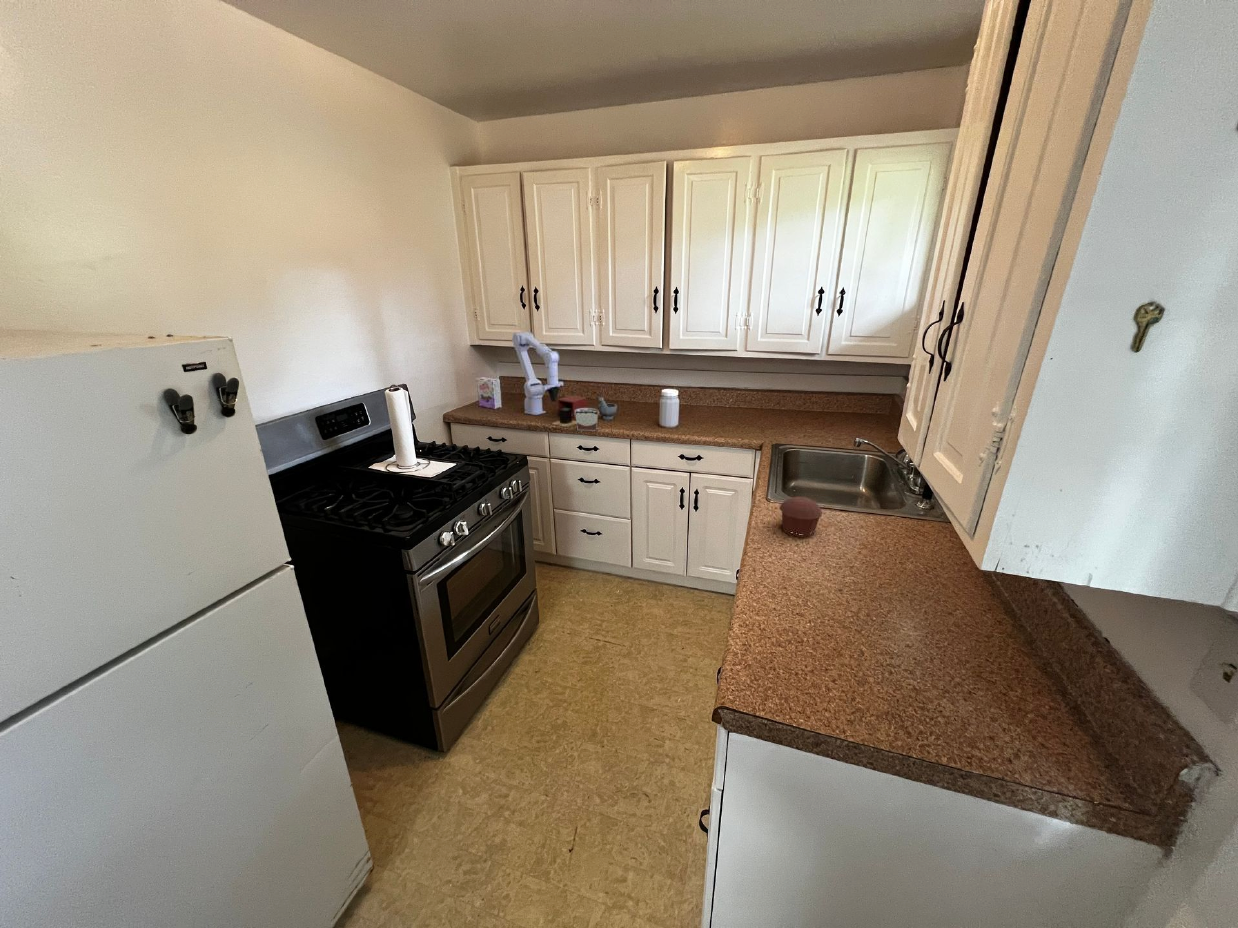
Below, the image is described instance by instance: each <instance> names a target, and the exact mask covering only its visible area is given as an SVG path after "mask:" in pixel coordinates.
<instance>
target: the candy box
mask: <svg viewBox="0 0 1238 928" xmlns="http://www.w3.org/2000/svg"><path fill="white" fill-rule="evenodd" d="M475 379H476V380H475V381H476V389H477V399H478V406H479V407H483V408H487V409H493V410H497V409H501V408H503V405H502V394H501V393H502V391H501V380H500V379H498V378H491V377H487V376H486V377H485V376H481V377H476V378H475Z"/></svg>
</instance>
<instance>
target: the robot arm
mask: <svg viewBox="0 0 1238 928" xmlns="http://www.w3.org/2000/svg"><path fill="white" fill-rule="evenodd" d="M511 341H512V344H513V347H514V350H515V351H516V354H517V357H518V360H519V363H520V366H521V369H522V373H523V375H524V377H525V380H526V381H525V383H524V384H523V388H524V394H525V398H524V412H523V413H524V414H529V415H533V416H538V415H542V414H546V412H547V411H545V410H543V397H544V395H545V393H546V392H545V391H547V394H548V395H549V397H550V401H551V402H552V403H554V402H557V400H558V394H559V392H560V390H561V387H564V381H559V370H558V367H559V365H558V363H559V362H560V359H561V358H560V353H559V352H558V351H557V350H554V351H553V350H552V349H551V348H549V346H547V345H546V343H540V342H539V341H538V340H537V339H536V338H535V336H534V334H533V333H532V332H531V331H524V332H514V333H513V334H512V338H511ZM531 347H532V348H533V349H534V350H535V351H536V354H537V355H539V356H540V357H541V358H542V359H543V362H544V365H545V368H546V384H544V385H543V384H542V381H541V380H539V379H537V377H536V374H535V371H534V368H533V366H532V363H531V359H530V357H529V354H528V350H529V349H530V348H531Z"/></svg>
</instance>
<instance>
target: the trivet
mask: <svg viewBox="0 0 1238 928" xmlns="http://www.w3.org/2000/svg"><path fill="white" fill-rule="evenodd" d="M551 425H554V426H558V427H559V426H560V427H564V428H570V427H572V426H575V425H577V422H576V420H574V419H572V422H571V423H568V424H564V423H560V420H557V421H555V422H552V423H551Z"/></svg>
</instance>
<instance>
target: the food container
mask: <svg viewBox="0 0 1238 928" xmlns="http://www.w3.org/2000/svg"><path fill="white" fill-rule="evenodd" d="M574 414H575V415H576V418H575V421H576V422H577V424H576V428H577V429H576V430H577V431H591V432H592V431H593V432H596V431H597V429H598V418H599V415H600V412H599V409H597V408H594V407H587V408H580V409H576V410H575V412H574Z"/></svg>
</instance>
